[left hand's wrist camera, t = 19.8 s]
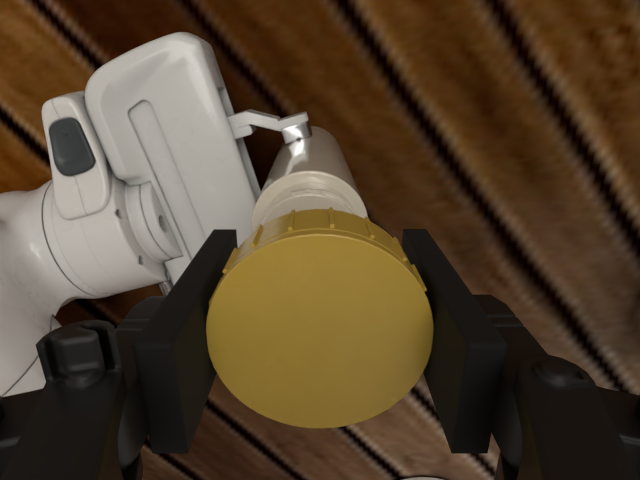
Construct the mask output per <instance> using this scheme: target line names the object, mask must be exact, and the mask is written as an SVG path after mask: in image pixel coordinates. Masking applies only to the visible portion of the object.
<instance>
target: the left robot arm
mask: <svg viewBox="0 0 640 480" xmlns="http://www.w3.org/2000/svg"><path fill="white" fill-rule="evenodd" d="M234 248H237V249H238V245H237V232H236V229H214V230H213V231H212V232H211V234H210V235H209V237H208V238H207V240H206V241H205V242H204V244H203V245H202V247H201V248H200V249H199V251H198V252H197V254H196V255H195V256H194V258H193V259H192V261H191V262H190V264H189V265H188V266H187V268H186V269H185V271H184V272H183V273H182V275H181V276H180V278H179V279H178V280H177V282H176V283H175V285H174V286H173V288H172V289H171V290H170V292H169V293H168V295H167V296H149V297H147V298H146V299H144V300H142V301H141V302H139V303H137V304H136V305H134V306H133V307H132V309H131V310H130V311H129V312H128V313H127V315H126V316H125V319H123V320H122V321H121V322H120V323H119V324H118V326H117V329H115V327H114V326H113V325H112V324H111V323H109V322H107V321H102V320H83V321H79V322H74V323H70V324H67V325H64V326H62V327H59V328H57V329H54V330H53V331H51V332H50V333H48V334H46V335H45V336H43V337H42V338H41V339H40V340H39V341H38V342H37V344H36V349H37V352H38V356H39V359H40V363H41V366H42V370H43V373H44V377H45V380H46V383H45V385H44V387H43V388H42V389H38V390H34V391H30V392H25V393H20V394H15V395H10V396H5V397H1V396H0V480H142V474H143V465H142V459H141V454H140V450H141V448H142V446H143V444H144V442H145V440H146V438H147V436H148V433H149V438H150V443H151V449H152V453H188V452H189V449H190V446H191V443H192V441H193V438H194V435H195V432H196V429H197V426H198V424H199V421H200V418H201V415H202V412H203V409H204V407H205V404H206V401H207V398H208V395H209V392H210V390H211V387H212V384H213V381H214V378H215V375H216V373H217V372H216V370H215V369H214V366H213V364H212V361H211V359H210V356H209V352H208V344H207V335H206V319H207V314H208V310H209V306H210V305H209V301H210V299H211V297H212V295H213V293H214V291H215V289H216V287H217V285H218V283H219V281H220V279H221V277H223V275H224V273H223V272H222V271H223V269H224V267H225V265H226V263H227V261H228V259H229V257H230V255H231V254H232V252H233V250H234ZM402 249H403V251H404V253H405V254H406V256H407V258H408V260H409V262H410V264H411V265H413V264H414V265H415V267H416V269H417V271H418V273H419V275H420V277H421V279H422V281H423V283H424V285H425V287H426V289H427V291H425V294H426V296H427V298H428V301H429V304H430V307H431V311H432V316H433V323H434V331H433V341H432V349H431V354H430V357H429V360H428V363H427V365H426V367H425V369H424V371H423V373H424V376H425V379H426V382H427V385H428V387H429V390H430V393H431V396H432V399H433V402H434V404H435V407H436V410H437V413H438V416H439V419H440V421H441V424H442V427H443V430H444V433H445V436H446V439H447V441H448V444H449V447H450V450H451V453H488V447H489V442H490V437H491V432H492V434H493V436H494V438H495V440H496V442H497V444H498V446H499V448H500V454H499V459H498V464H497V469H496V474H495V479H494V480H640V395H634V394H629V393H624V392H619V391H615V390H610V389H605V388H601V387H597V386H596V385H595V382H594V381H593V380H592V378H591V377H590V376H589V374H588V373H587V372H586V371H584V370H583V369H581V368H580V367H579V366H577V365H576V364H574V363H571V362H569V361H567V360H565V359H563V358H559V357H555V356H551V355H548V354H547V353H546V352H545V351H544V349H543V348H542V347H541V346H540V345H539V343H538V342H537V341H536V340H535V339H534V337H533V336H532V335H531V334H530V333H529V331H528V330H527V329H526V328H525V327H523V324H522V323H521V322H520V320H519V319H518V318H516V317H515V314H514V313H513V312H512V311H511V310H510V308H509V307H508V306H507V305H506V304H505V303H503V302H502V301H500V300H498V299H497V298H495V297H493V296H492V295H472V294H471V292H470V291H469V289H468V288H467V287H466V285H465V284H464V282H463V281H462V279H461V278H460V277H459V275H458V274H457V272H456V271H455V270H454V268H453V267H452V265H451V264H450V263H449V261H448V260H447V258H446V257H445V255H444V254H443V253H442V251H441V250H440V248H439V247H438V246H437V244H436V243H435V241H434V240H433V239H432V237H431V236H430V234H429V233H428V231H427V230H426V229H403V241H402Z"/></svg>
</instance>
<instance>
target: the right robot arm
mask: <svg viewBox="0 0 640 480" xmlns="http://www.w3.org/2000/svg"><path fill="white" fill-rule="evenodd" d="M42 120H43V126H44V131H45V135H46V141H47V146H48V151H49V157H50V163H51V170H52V178H53V179H52V180H50V181H48V182H47V183H45V184H44V185H42V186H41V187H40V188H38V189H36V190H32V191H11V192H5V193H1V194H0V396H1V397H5V396H10V395H15V394H20V393H25V392H30V391H34V390H38V389H42V388H43V387H44V385H45V383H46V380H45V377H44V373H43V370H42V366H41V363H40V359H39V356H38V352H37V349H36V344H37V342H38V341H39V340H40V339H41V338H42V337H43V336H45V335H46V334H48V333H50V332H51V331H53V330H54V329H57V328H59V327H62V326H61V325H60V324H59V322H58V321H57V320H56V319H55V318H54V317H53V316H56V314H57V312H58V310H59V308H61V307H62V306H64V305H66V304H67V303H69V302H71V301H73V300H75V299H80V298H86V299H96V298H104V297H107V296H111V295H115V294H118V293H122V292H126V291H130V290H133V289H137V288H141V287H145V286H149V285H152V284H156V283H157V284H158V286H159V288H160V290H161V293H162V295H163V296H167V295H168V293H169V292H170V290H171V289H172V288H173V286H174V285H175V283H176V282H177V280H178V279H179V278H180V276H181V275H182V273H183V272H184V271H185V269H186V268H187V266H188V265H189V264H190V262H191V261H192V259H193V258H194V256H195V255H196V254H197V252H198V251H199V249H200V248H201V247H202V245H203V244H204V242H205V241H206V240H207V238H208V237H209V235H210V234H211V232H212V231H213V230H214V229H236V232H237V245H238V248H239V247H240V245H241V244H242V243H243V242H244V240H245V239H246V238H247V237H249V236H250V235H251V234H252V230H251V221H252V215H253V210H254V208H255V205H256V203H257V200H258V198H259V196H260V193H261V189H260V186H259V183H258V180H257V177H256V175H255V172H254V169H253V166H252V163H251V160H250V157H249V154H248V151H247V148H246V145H245V142H244V139H243V137H244V136H248V135H251V134H252V133H253V132H254V131H255V130H256V129H257V128H256V126H260V127H264V128H268V129H272V130H276V131H282V134H283V137H284V140H285V143H286V144H287V143H291V142H294V141H296V140H297V139H298V138H301V139H304V138H308V137H310V136H312V130H311V126H310V122H309V119H308V115H307V112H301V113H298V114H295V115H291V116H288V117H284V118H281V119H280V117H279V116H275V115H271V114H267V113H263V112H259V111H256V110H252V109H250V110H246V111H243V112H240V113H236V114H235V113H234V110H233V107H232V104H231V101H230V98H229V96H228V93H227V90H226V87H225V84H224V81H223V78H222V75H221V72H220V69H219V66H218V63H217V60H216V58H215V55H214V52H213V49H212V47H211V45H210V44H209V43H208V42H206V41H205V40H203V39H201V38H199V37H198V36H196V35H193V34H191V33H187V32H177V33H173V34H170V35H166V36H163V37H161V38H158V39H156V40H153V41H150V42H148V43H146V44H143V45H141V46H139V47H137V48H135V49H132V50H130V51H128V52H126V53H124V54H122V55H120V56H119V57H117V58H115V59H113V60H111V61H109V62H108V63H106V64H105V65H103V66H101V67H100V68H99V69H98V70H97V71H96V72H95V73H94V74H93V75H92V76H91V77H90V79H89V81H88V83H87V85H86V89H85V91H78V92H73V93H68V94H65V95H61V96H58V97H55V98H53V99H50V100H48V101H47V102H45V103H44V105H43V107H42ZM52 315H53V316H52ZM402 480H444V479H439V478H433V477H414V478H407V479H402Z"/></svg>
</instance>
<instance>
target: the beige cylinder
mask: <svg viewBox="0 0 640 480" xmlns="http://www.w3.org/2000/svg"><path fill="white" fill-rule="evenodd" d="M311 130H312V136H310V137H308V138H304V139H301V138H298V139H297V140H296V141H294V142H291V143H287V144H286V143H285V140H284V141H283V143H282V145H281V148H280V150H279V152H278V155H277V157H276V159H275V161H274V164H273V166H272V168H271V171H270V173H269V175H268V177H267V180H266V182H265V184H264V187H263V189H262V191H261V193H260V196H259V198H258V200H257V203H256V205H255V208H254V210H253V215H252V221H251V230H252V233H253V232H254V231H255V230H256V229H257V226H258V225H259V224H261V225H262V226H263V225H264V224H266V223H267V222H269V221H271V220H273V219H275V218H277V217H280V216H283V215H286V214H288V213H291V210H295V211H296V212H297V211H301V210H310V209H329V207H333V210H337V211H344V212H347V213H351V214H354V215H357V216H360V217H362V218H365V216H366V217H368V215H367V211H366V208H365V206H364V203H363V201H362V198H361V196H360V194H359V191H358V189H357V187H356V184H355V182H354V179H353V177H352V175H351V172H350V170H349V168H348V165H347V163H346V161H345V158H344V156H343V153H342V151H341V149H340V146H339V144H338V142H337V140H336V139H335V138H334V137H333V136H332V134H330V133H329V132H328V131H326V130H324V129H322V128H320V127H315V126H311Z"/></svg>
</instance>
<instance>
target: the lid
mask: <svg viewBox="0 0 640 480" xmlns="http://www.w3.org/2000/svg"><path fill="white" fill-rule="evenodd" d="M222 272H223V273H224V275H223V277H221V279H220V281H219V283H218V285H217V287H216V289H215V291H214V293H213V295H212V297H211V299H210V301H209V305H210V306H209V310H208V314H207V319H206V335H207V344H208V352H209V356H210V359H211V361H212V364H213V366H214V369H215V370H216V372H217V374H218V376H219V377H220V379H221V380H222V382H223V383H224V384H225V386H226V387H227V388H228V390H229V391H230V392H231V393H232V394H233V395H234V396H235V397H236V398H237V399H239V400H240V401H241V402H242V403H244V404H245V405H246V406H247V407H249V408H251V409H252V410H254V411H256V412H257V413H259V414H261V415H263V416H265V417H267V418H269V419H272V420H275V421H278V422H281V423H284V424H288V425H292V426H297V427H304V428H336V427H342V426H347V425H352V424H355V423H359V422H362V421H365V420H367V419H370V418H372V417H375V416H377V415H378V414H380V413H382V412H384V411H386V410H387V409H389V408H390V407H392V406H393V405H395V404H396V403H397V402H398V401H400V400H401V399H402V398H403V397H404V396H405V395H406V394H407V393H408V392H409V391H410V390H411V389H412V388H413V386H414V385H415V384H416V383H417V381H418V379H419V378H420V376H421V375H422V373H423V371H424V369H425V367H426V365H427V363H428V360H429V357H430V354H431V349H432V341H433V331H434V323H433V316H432V311H431V307H430V304H429V301H428V298H427V296H426V294H425V291H427V289H426V287H425V285H424V283H423V281H422V279H421V277H420V275H419V273H418V271H417V269H416V267H415V265H414V264H413V265H411V264H410V262H409V260H408V258H407V256H406V254H405V253H404V251H403V249H402V247H401V245H400V243H399V241H398V239H397V238H396V237H394V238H392V237H391V236H390V235H389V234H388V233H386V232H385V231H384V230H383V229H382V228H380V227H379V226H377V225H375V224H374V223H372V222H370V220H369V218H368V217H366V216H365V218H362V217H360V216H357V215H354V214H351V213H347V212H344V211H337V210H333V207H329V209H310V210H301V211H297V212H296V211H295V210H291V213H288V214H286V215H283V216H280V217H277V218H275V219H273V220H271V221H269V222H267V223H266V224H264V225H263V226H262V225H261V224H259V225H258V226H257V229H256V230H255V231H254V232H253V233H252V234H251V235H250V236H249V237H247V238H246V239H245V240H244V242H243V243H242V244H241V245H240V247H239V248H238V249H237V248H234V250H233V252H232V254H231V255H230V257H229V259H228V261H227V263H226V265H225V267H224V269H223V271H222Z"/></svg>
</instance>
